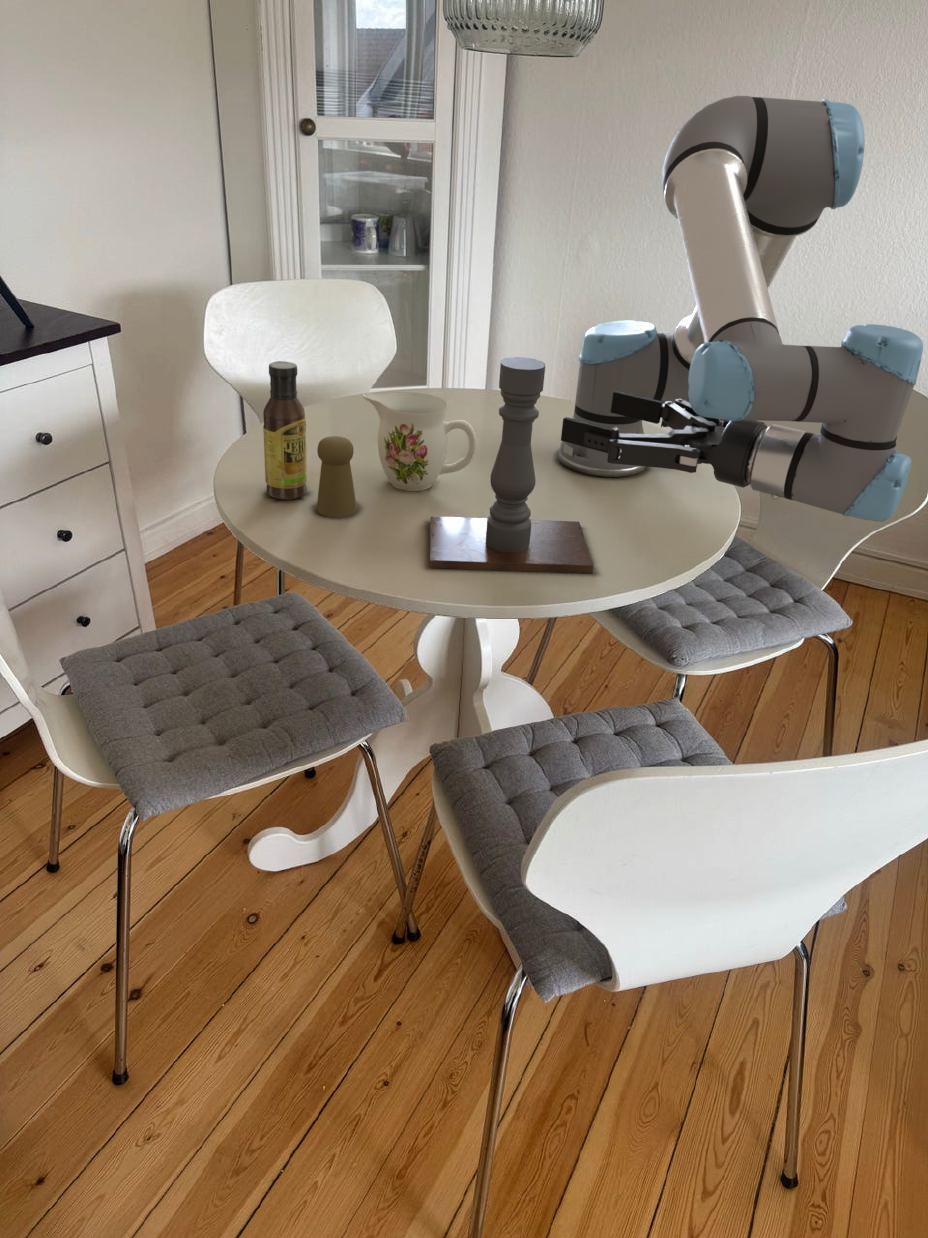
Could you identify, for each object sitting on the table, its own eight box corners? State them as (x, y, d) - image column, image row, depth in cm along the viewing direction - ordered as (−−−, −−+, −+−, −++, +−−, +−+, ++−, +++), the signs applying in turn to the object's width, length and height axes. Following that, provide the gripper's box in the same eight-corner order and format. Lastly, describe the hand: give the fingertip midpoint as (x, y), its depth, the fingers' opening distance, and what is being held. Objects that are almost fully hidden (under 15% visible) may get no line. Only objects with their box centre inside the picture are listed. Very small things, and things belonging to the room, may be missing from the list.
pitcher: (469, 502, 141) (474, 416, 134) (355, 491, 143) (354, 405, 136) (477, 476, 151) (482, 394, 144) (370, 465, 152) (370, 384, 145)
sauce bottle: (290, 505, 137) (283, 373, 127) (257, 495, 139) (248, 365, 129) (316, 491, 142) (312, 363, 132) (284, 482, 144) (278, 356, 134)
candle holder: (512, 529, 131) (528, 354, 118) (538, 546, 127) (557, 367, 114) (476, 538, 128) (488, 359, 115) (501, 556, 124) (517, 372, 111)
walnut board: (578, 528, 135) (579, 521, 135) (592, 573, 123) (593, 565, 123) (430, 523, 134) (430, 516, 133) (429, 568, 122) (430, 560, 121)
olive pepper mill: (335, 521, 133) (333, 449, 127) (307, 508, 136) (305, 437, 131) (365, 509, 137) (365, 439, 132) (337, 497, 140) (336, 428, 135)
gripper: (713, 523, 96) (536, 472, 105) (782, 456, 114) (627, 418, 123) (727, 455, 92) (543, 409, 101) (797, 398, 110) (635, 363, 119)
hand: (589, 414), depth 112 cm, fingers open, 13 cm apart
